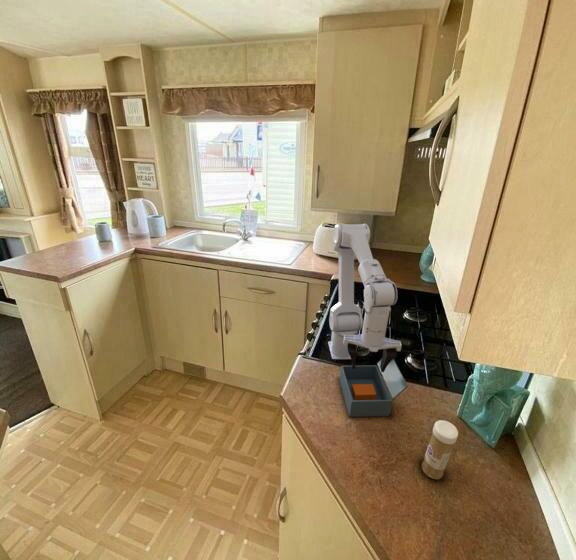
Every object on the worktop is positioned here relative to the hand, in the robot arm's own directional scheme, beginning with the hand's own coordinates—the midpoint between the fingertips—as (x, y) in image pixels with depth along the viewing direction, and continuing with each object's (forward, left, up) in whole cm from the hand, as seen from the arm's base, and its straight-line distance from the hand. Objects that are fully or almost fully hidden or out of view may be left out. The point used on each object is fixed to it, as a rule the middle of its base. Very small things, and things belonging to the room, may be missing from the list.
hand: (367, 368), depth 85 cm
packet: (0, 0, -10) cm, 10 cm away
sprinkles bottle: (+22, +10, -11) cm, 26 cm away
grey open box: (0, 0, -10) cm, 10 cm away
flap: (0, +7, -2) cm, 7 cm away
